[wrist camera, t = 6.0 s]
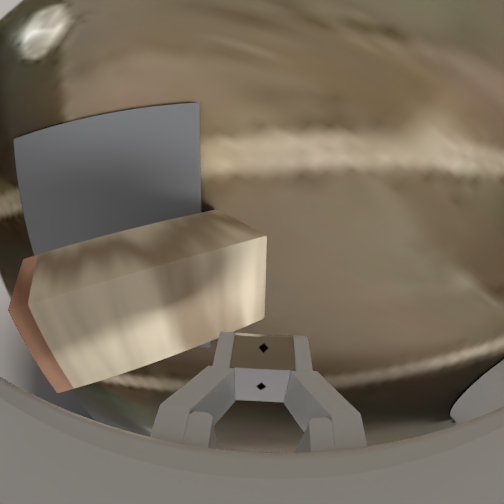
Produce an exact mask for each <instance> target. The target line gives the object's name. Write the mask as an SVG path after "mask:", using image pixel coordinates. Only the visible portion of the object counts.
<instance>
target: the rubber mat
mask: <svg viewBox="0 0 504 504" xmlns="http://www.w3.org/2000/svg"><path fill="white" fill-rule="evenodd" d="M14 152H15V162H16V171H17V178H18V185H19V191H20V197H21V203H22V208H23V213H24V218H25V222H26V226H27V231H28V235H29V239H30V242H31V246H32V250H33V253H34V256H35V255H38V254H42V253H45V252H48V251H52V250H55V249H58V248H62V247H65V246H69V245H72V244H76V243H79V242H83V241H87V240H90V239H94V238H98V237H101V236H105V235H109V234H113V233H117V232H121V231H124V230H128V229H132V228H137V227H141V226H145V225H149V224H153V223H157V222H162V221H166V220H170V219H175V218H179V217H184V216H188V215H193V214H197V213H202V206H201V175H200V103H183V104H172V105H162V106H153V107H145V108H138V109H131V110H125V111H119V112H113V113H108V114H102V115H98V116H93V117H88V118H84V119H79V120H75V121H71V122H67V123H63V124H60V125H56V126H52V127H49V128H46V129H42V130H39V131H36V132H33V133H30V134H27V135H24V136H21V137H18V138H15V139H14ZM197 347H201V348H211V341H209V342H207V343H204V344H202V345H199V346H197Z"/></svg>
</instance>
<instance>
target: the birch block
mask: <svg viewBox="0 0 504 504" xmlns="http://www.w3.org/2000/svg"><path fill="white" fill-rule="evenodd" d="M266 243H267V236H266V235H265V234H263V233H261V232H259V231H257V230H255V229H253V228H252V227H250V226H248V225H246V224H244V223H242V222H240V221H238V220H237V219H235V218H233V217H231V216H229V215H227V214H225V213H223V212H222V211H220V210H218V209H216V210H211V211H207V212H202V213H197V214H193V215H188V216H184V217H179V218H175V219H170V220H166V221H162V222H157V223H153V224H149V225H145V226H141V227H137V228H132V229H128V230H124V231H121V232H117V233H113V234H109V235H105V236H101V237H98V238H94V239H90V240H87V241H83V242H79V243H76V244H72V245H69V246H65V247H62V248H58V249H55V250H52V251H48V252H45V253H42V254H38V255H35V256H32V257H29V258H26V259H23V262H22V265H21V268H20V271H19V274H18V277H17V280H16V283H15V287H14V290H13V294H12V298H11V302H10V305H9V310H8V311H9V313H10V315H11V317H12V319H13V321H14V323H15V325H16V327H17V329H18V331H19V333H20V335H21V336H22V338H23V340H24V342H25V343H26V345H27V347H28V349H29V351H30V352H31V354H32V356H33V357H34V359H35V360H36V362H37V364H38V365H39V367H40V369H41V370H42V371H43V373H44V375H45V376H46V378H47V379H48V381H49V382H50V383H51V385H52V386H53V388H54V389H55V390H56V392H57V393H59V392H63V391H67V390H70V389H74V388H77V387H81V386H84V385H88V384H91V383H94V382H97V381H101V380H104V379H107V378H110V377H113V376H116V375H119V374H122V373H125V372H128V371H131V370H134V369H137V368H140V367H143V366H146V365H149V364H151V363H154V362H157V361H160V360H163V359H165V358H168V357H171V356H173V355H176V354H179V353H181V352H184V351H187V350H189V349H192V348H194V347H197V346H199V345H202V344H204V343H207V342H209V341H212V340H214V339H217V338H219V334H220V332H221V331H223V332H234V331H236V330H238V329H241V328H243V327H245V326H248V325H250V324H252V323H255V322H257V321H259V320H261V319H264V313H265V281H266Z"/></svg>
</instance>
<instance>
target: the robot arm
mask: <svg viewBox="0 0 504 504" xmlns="http://www.w3.org/2000/svg"><path fill="white" fill-rule="evenodd" d="M235 400H245V401H267V402H284V404H285V406H286V407H287V409H288V410H289V412H290V413H291V414H292V416H293V417H294V419H295V420H296V422H297V423H298V424H299V426H300V427H301V429H302V430H303V431H304V435H303V437H302V439H301V441H300V443H299V445H298V448H297V450H296V453H273V452H248V451H234V450H224V449H218V446H217V440H216V434H215V428H214V425H215V424H216V422H217V421H218V420H219V419H220V418H221V417H222V416H223V415H224V413H225V412H226V411H227V410H228V409H229V408H230V407H231V405H232V404H233V403H234V402H235ZM450 416H451V417H452V418H453V419H454V420H455V422H456V424H457V425H456V426H453V427H450V428H447V429H443V430H440V431H437V432H433V433H430V434H426V435H422V436H418V437H414V438H410V439H406V440H401V441H396V442H391V443H386V444H380V445H374V446H368V447H367V443H366V438H365V433H364V428H363V423H362V418H361V414H360V413H359V412H358V411H357V410H356V409H355V408H354V407H353V406H352V405H351V404H350V403H349V402H348V401H347V400H346V399H345V398H344V397H343V396H342V395H341V394H340V393H339V392H338V391H337V390H336V389H335V388H333V387H332V386H331V385H330V384H329V383H328V382H327V381H326V380H325V379H324V378H323V377H322V376H321V375H320V374H319V373H318V372H317V371H313V369H312V361H311V354H310V347H309V340H308V337H307V336H284V335H259V334H247V333H232V332H223V331H221V332H220V334H219V338H218V342H217V347H216V352H215V357H214V361H213V366H207V367H206V368H205V369H204V370H202V371H201V372H200V373H199V374H198V375H196V376H195V377H194V378H193V379H191V380H190V381H189V382H188V383H187V384H185V385H184V386H183V387H182V388H180V389H179V390H178V391H177V392H175V393H174V394H173V395H171V396H170V397H169V398H168V399H166V400H165V401H164V402H163V403H161V404H160V407H159V410H158V413H157V416H156V419H155V423H154V426H153V429H152V432H151V435H150V437H148V436H144V435H140V434H136V433H132V432H129V431H125V430H122V429H118V428H115V427H112V426H109V425H105V424H102V423H99V422H97V421H94V420H91V419H88V418H85V417H82V416H80V415H77V414H75V413H72V412H70V411H67V410H65V409H63V408H60V407H58V406H56V405H54V404H51V403H49V402H47V401H44V400H43V399H40V398H38V397H36V396H34V395H32V394H31V393H29V392H27V391H25V390H23V389H21V388H19V387H17V386H15V385H14V384H12V383H10V382H8V381H7V380H5V379H3V378H2V377H0V504H504V359H503V360H502V361H501V362H500V363H498V364H497V365H496V366H494V367H493V368H492V369H490V370H489V371H488V372H487V373H485V374H484V375H483V376H482V377H480V378H479V379H478V380H477V381H476V382H475V383H474V384H473V385H472V386H470V387H469V388H468V389H467V390H466V391H465V392H464V393H463V395H462V396H461V397H460V398H459V399H458V400H457V401H456V403H455V404H454V406H453V407H452V409H451V412H450Z"/></svg>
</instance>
